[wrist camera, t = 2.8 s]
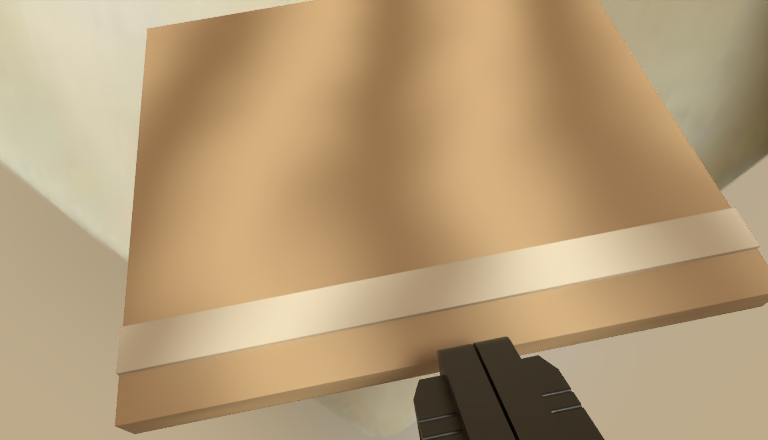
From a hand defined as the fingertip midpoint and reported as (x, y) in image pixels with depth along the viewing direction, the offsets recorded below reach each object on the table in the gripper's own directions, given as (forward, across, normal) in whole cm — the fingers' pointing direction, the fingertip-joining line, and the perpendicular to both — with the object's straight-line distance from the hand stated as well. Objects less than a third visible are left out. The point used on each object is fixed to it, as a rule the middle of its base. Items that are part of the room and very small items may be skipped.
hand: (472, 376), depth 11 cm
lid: (+8, 0, -3) cm, 8 cm away
